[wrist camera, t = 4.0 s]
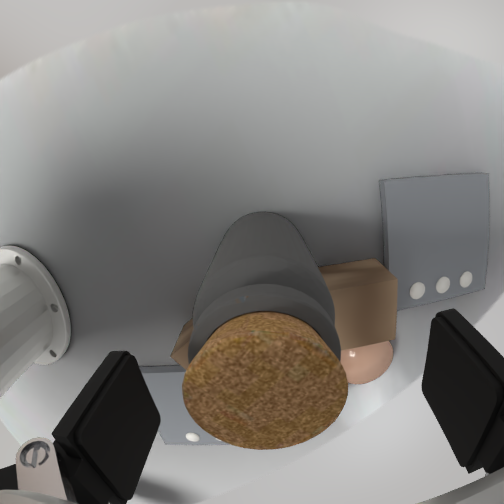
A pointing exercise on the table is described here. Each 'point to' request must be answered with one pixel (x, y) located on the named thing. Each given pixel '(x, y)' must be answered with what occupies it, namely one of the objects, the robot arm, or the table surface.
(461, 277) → the pad three
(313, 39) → the table surface
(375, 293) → the block
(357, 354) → the peach glossy rounded part
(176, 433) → the pad two
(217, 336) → the bottle
